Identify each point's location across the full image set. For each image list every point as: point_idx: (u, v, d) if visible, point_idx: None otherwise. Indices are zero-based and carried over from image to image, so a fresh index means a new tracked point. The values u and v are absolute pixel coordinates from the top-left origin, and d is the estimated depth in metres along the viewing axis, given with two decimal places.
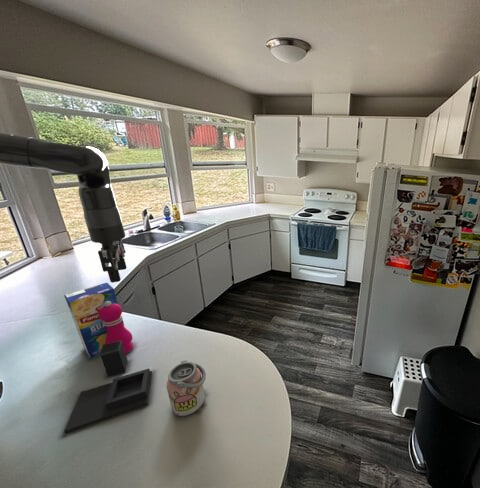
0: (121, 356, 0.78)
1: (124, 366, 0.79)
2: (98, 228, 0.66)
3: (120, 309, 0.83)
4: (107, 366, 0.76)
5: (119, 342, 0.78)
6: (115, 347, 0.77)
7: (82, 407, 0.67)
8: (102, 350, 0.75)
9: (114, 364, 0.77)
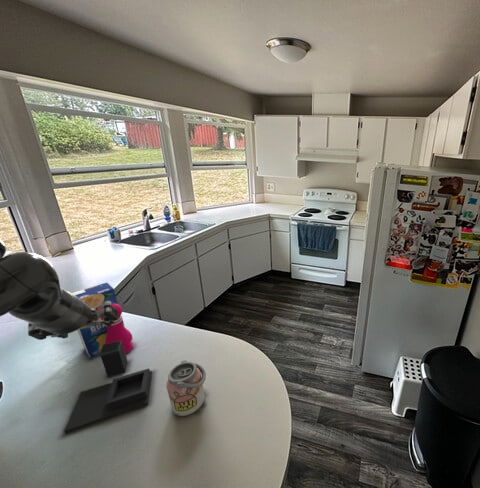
0: (121, 356, 0.78)
1: (124, 366, 0.79)
2: None
3: (120, 309, 0.83)
4: (107, 366, 0.76)
5: (119, 342, 0.78)
6: (115, 347, 0.77)
7: (82, 407, 0.67)
8: (102, 350, 0.75)
9: (114, 364, 0.77)
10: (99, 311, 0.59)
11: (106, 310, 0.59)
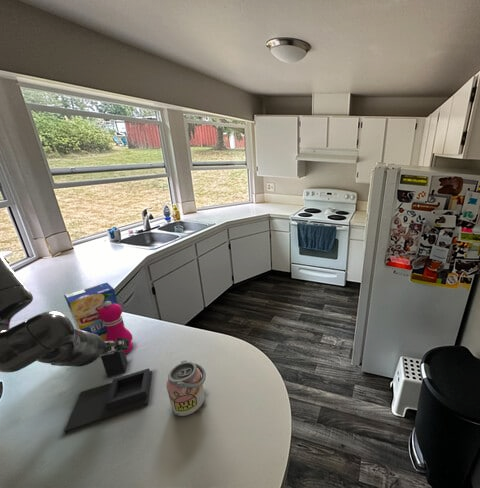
0: (121, 356, 0.78)
1: (124, 366, 0.79)
2: None
3: (120, 309, 0.83)
4: (107, 366, 0.76)
5: None
6: (115, 347, 0.77)
7: (82, 407, 0.67)
8: None
9: (114, 364, 0.77)
10: (112, 344, 0.65)
11: (118, 343, 0.65)
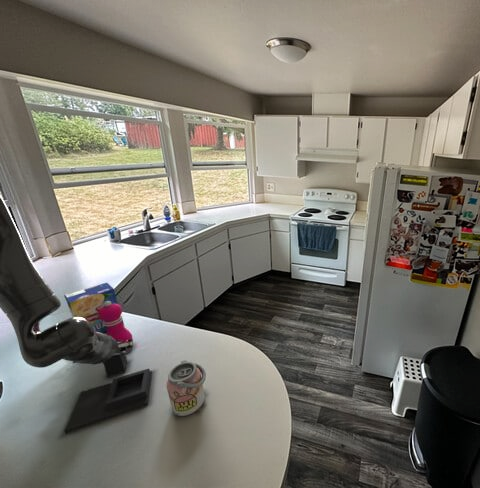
0: (121, 356, 0.78)
1: (124, 366, 0.79)
2: None
3: (120, 309, 0.83)
4: (107, 366, 0.76)
5: None
6: None
7: (82, 407, 0.67)
8: None
9: (114, 364, 0.77)
10: (124, 344, 0.73)
11: (130, 344, 0.74)
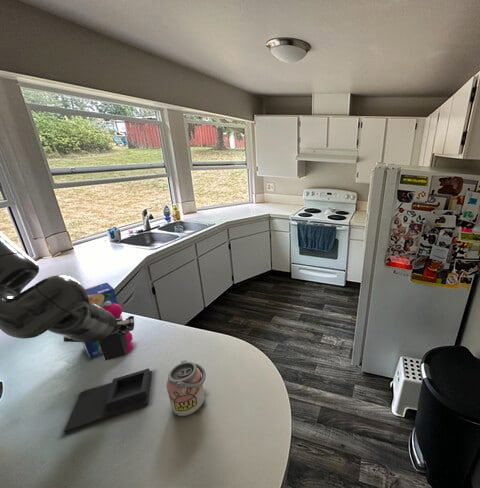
0: (121, 337, 0.68)
1: (124, 348, 0.69)
2: None
3: (120, 309, 0.83)
4: (105, 348, 0.66)
5: None
6: None
7: (82, 407, 0.67)
8: None
9: (113, 345, 0.67)
10: (124, 321, 0.63)
11: (131, 321, 0.64)
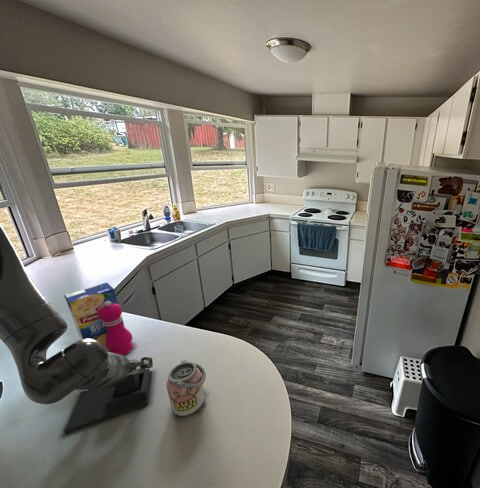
0: (135, 377, 0.70)
1: (138, 388, 0.71)
2: None
3: (120, 309, 0.83)
4: (119, 389, 0.68)
5: None
6: None
7: (82, 407, 0.67)
8: None
9: (127, 386, 0.69)
10: (137, 364, 0.64)
11: (143, 363, 0.65)
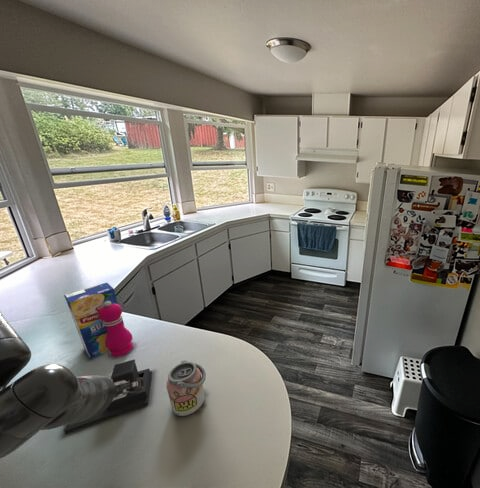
0: (135, 377, 0.70)
1: None
2: None
3: (120, 309, 0.83)
4: None
5: (132, 362, 0.70)
6: (128, 367, 0.69)
7: None
8: (114, 371, 0.67)
9: None
10: (124, 386, 0.53)
11: (132, 385, 0.54)
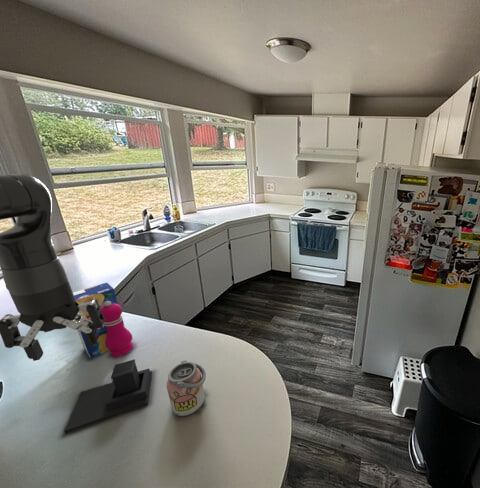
0: (135, 377, 0.70)
1: (138, 388, 0.71)
2: None
3: (120, 309, 0.83)
4: (119, 389, 0.68)
5: (132, 362, 0.70)
6: (128, 367, 0.69)
7: (82, 407, 0.67)
8: (114, 371, 0.67)
9: (127, 386, 0.69)
10: (82, 304, 0.52)
11: (90, 302, 0.52)
